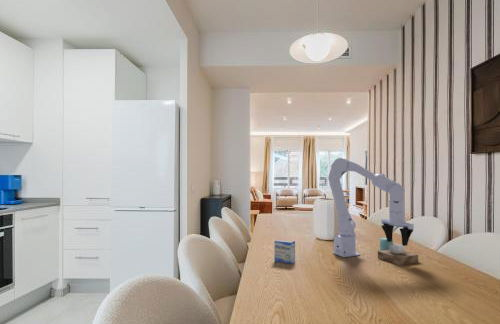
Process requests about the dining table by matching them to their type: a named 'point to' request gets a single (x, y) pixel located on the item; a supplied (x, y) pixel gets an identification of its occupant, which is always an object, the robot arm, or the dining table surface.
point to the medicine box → (284, 251)
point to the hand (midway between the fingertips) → (397, 243)
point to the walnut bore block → (398, 257)
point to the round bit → (385, 244)
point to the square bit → (396, 249)
